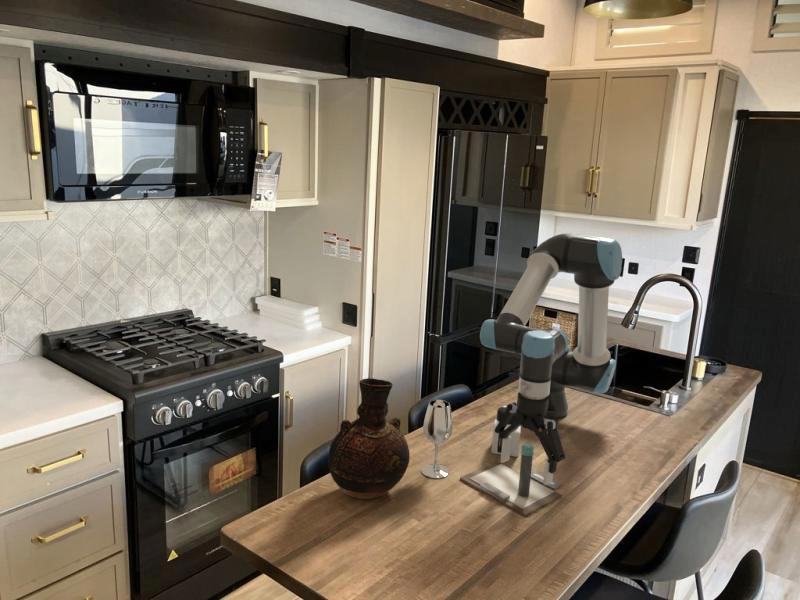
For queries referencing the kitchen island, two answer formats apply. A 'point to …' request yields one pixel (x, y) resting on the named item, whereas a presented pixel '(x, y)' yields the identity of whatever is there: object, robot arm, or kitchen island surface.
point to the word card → (540, 479)
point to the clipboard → (510, 488)
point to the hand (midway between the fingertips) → (525, 471)
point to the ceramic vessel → (369, 446)
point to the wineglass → (437, 434)
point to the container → (515, 435)
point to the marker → (525, 470)
